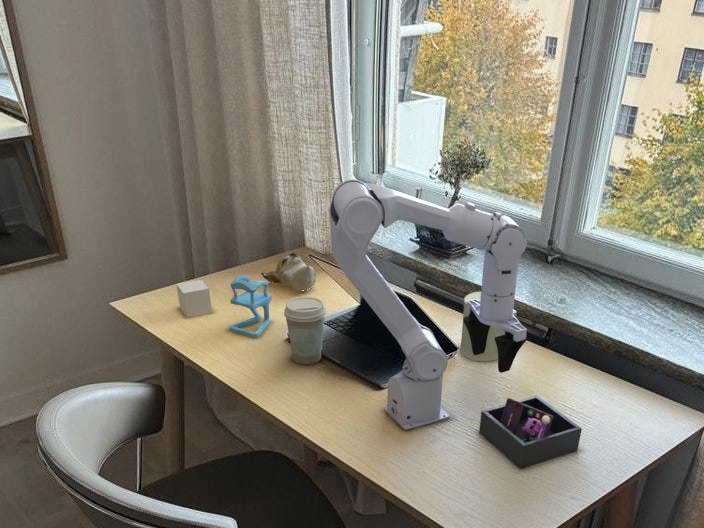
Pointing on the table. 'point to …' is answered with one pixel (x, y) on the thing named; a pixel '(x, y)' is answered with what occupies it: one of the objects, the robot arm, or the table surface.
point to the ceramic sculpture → (292, 274)
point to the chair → (250, 304)
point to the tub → (527, 448)
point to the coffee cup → (305, 328)
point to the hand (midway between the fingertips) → (491, 362)
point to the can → (491, 346)
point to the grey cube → (194, 298)
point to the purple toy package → (532, 425)
